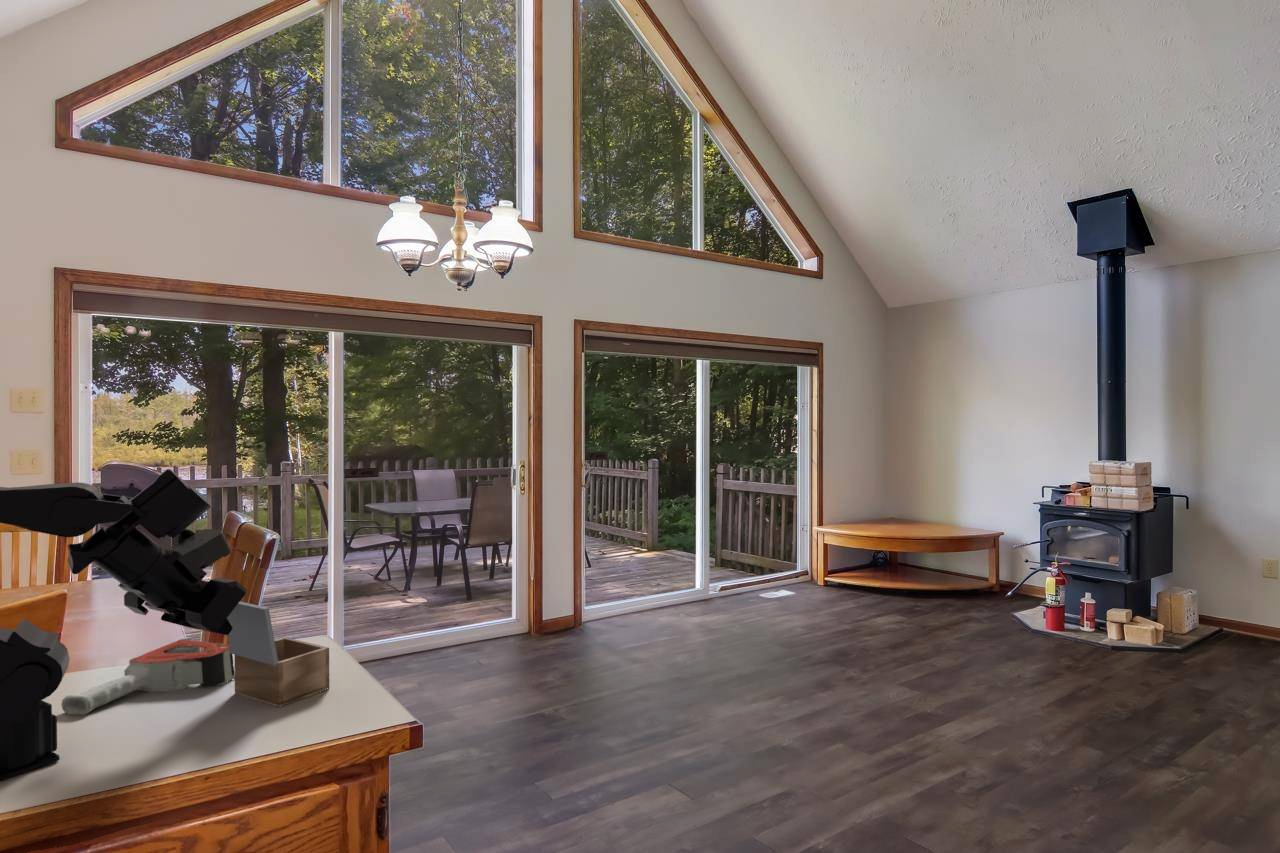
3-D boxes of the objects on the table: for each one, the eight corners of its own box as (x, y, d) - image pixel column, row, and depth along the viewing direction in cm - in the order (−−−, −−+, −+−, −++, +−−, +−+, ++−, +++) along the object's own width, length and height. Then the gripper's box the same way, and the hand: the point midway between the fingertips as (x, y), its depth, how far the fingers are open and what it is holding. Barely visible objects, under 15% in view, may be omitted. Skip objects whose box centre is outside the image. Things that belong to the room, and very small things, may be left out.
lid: (278, 663, 104) (274, 665, 104) (234, 651, 109) (230, 653, 109) (268, 607, 103) (264, 609, 102) (224, 598, 108) (220, 599, 107)
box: (279, 707, 104) (278, 663, 104) (234, 693, 110) (234, 651, 109) (329, 688, 111) (329, 647, 111) (285, 676, 116) (285, 637, 116)
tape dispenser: (58, 733, 101) (231, 701, 108) (54, 693, 100) (228, 664, 108) (95, 682, 117) (242, 657, 124) (91, 648, 116) (240, 625, 124)
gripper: (230, 516, 94) (310, 589, 103) (147, 506, 103) (228, 573, 113) (163, 594, 87) (256, 664, 97) (81, 576, 96) (173, 641, 106)
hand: (228, 631), depth 103 cm, fingers closed
